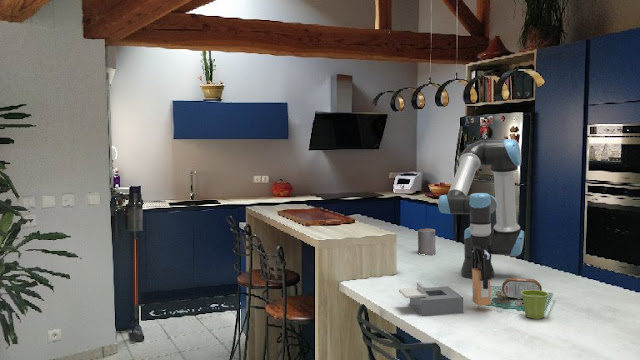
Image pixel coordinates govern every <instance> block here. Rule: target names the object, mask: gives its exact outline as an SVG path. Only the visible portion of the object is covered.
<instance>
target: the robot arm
mask: <svg viewBox="0 0 640 360" xmlns="http://www.w3.org/2000/svg"><path fill="white" fill-rule="evenodd" d="M521 164H522V152H521V148H520V144H519V143H518V141H517V140H516V139H510V138H509V139H507V138H500V139H481V140H476V141H475V142H472V143H471V144H469V145H468V146H467V147H466V148H465V149H464V150H463V151H462V152H461V153H460V155H459V158H458V167H457V170H456V172H455V175H454V177H453V179H452V182H451V185H450V187H449V190H448V193H447V194H442V195H440V196H439V198H438V201H437V202H438V203H437V206H438V210H439V212H440V213H441V214H447V215H448V214H449V215H469V227H467V228H465V230H464V234H463V235H464V236H463V242H464V243H463V244H464V246H463V247H464V249H463V250H464V260H463V262H462V263H463V264H462V266H461V270H460V276H462V277H464V278H467V279H472V269H473V268H478V263H479V262H480V268H481V277H482V279H480V281H481V297H489V294H488V280H490V281H491V280H492V278H494V277H495V270H494V266H493V263H492V257H493V256H492V255H496V256H509V257H511V256H512V257H513V256H515V257H517V256H520V255H521V254H522V251H523V247H524V241H525V240H524V239H525V231H524V230H522V229H521V226H520V224H518V223H517V210H516V209H517V208H516V207H517V205H516V188H515V187H516V185H515V184H516V183H515V173H516V172H517V171H518V167H519V166H521ZM480 167H489V168H490V172H491V173H493V178H494V181H493V182H494V196H493V195H492V194H491V195H490V194H489V193H487V192H475V193H471V194H469V191H470V188H471V185H472V183H473V180H474V177H475V174H476V172H477V170H479V169H480ZM468 194H469V195H468ZM494 212H495V216H496V217H495V219H496V223H495V224H494V225H493V229H492V223H491V222H492V221H491V219H492V218H491V216H492V215H491V214H493V213H494Z"/></svg>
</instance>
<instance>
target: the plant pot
mask: <svg viewBox="0 0 640 360" xmlns="http://www.w3.org/2000/svg"><path fill="white" fill-rule="evenodd" d="M521 294H522V298H523V300H522V301H523V305H524V310H525V311H524V312H525V316H526V317H527V318H531V319H534V320H537V319H538V320H540V319H542V318H544V317H545V311H546V305H547V304H546V303H547V300H548V296H549V293H548V292H546V291H544V290H542V291H539V290H525V291H522V292H521Z"/></svg>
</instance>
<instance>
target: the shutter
mask: <svg viewBox="0 0 640 360" xmlns="http://www.w3.org/2000/svg"><path fill="white" fill-rule="evenodd" d="M426 288H427V287H426V286H425V285H423V284H422V283H421V282H416V287H411V288H410V287H409V288H399V289H398V293H400V294H401V295H402V296H403V297H404V298H405V299H410V298H417V297H427V295H426Z"/></svg>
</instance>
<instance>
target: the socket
mask: <svg viewBox="0 0 640 360" xmlns="http://www.w3.org/2000/svg"><path fill="white" fill-rule="evenodd" d="M426 295H427V297H417V298H409V305H410V306H411V307H413V309H415V311H416V312H418V314H419V315H421V317H428V316H430V317H431V316H440V315H442V316H443V315H452V314H453V315H454V314H455V315H456V314H464V296H462V295H461V294H460V293H458V292H456V290H454V289H452V288H451V287H450V286H449V285H448V286H447V285H446V286H435V287H434V286H433V287H426Z"/></svg>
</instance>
